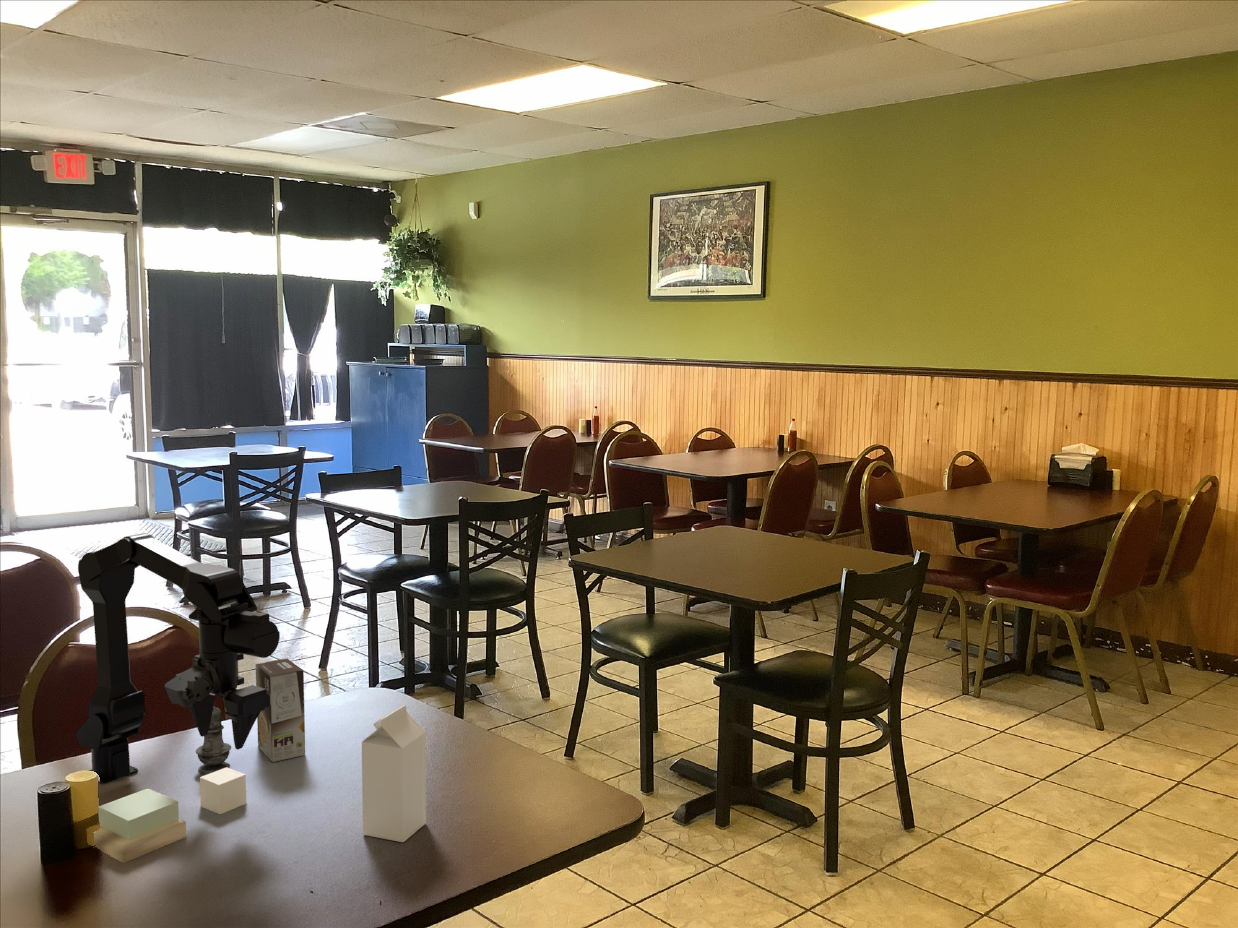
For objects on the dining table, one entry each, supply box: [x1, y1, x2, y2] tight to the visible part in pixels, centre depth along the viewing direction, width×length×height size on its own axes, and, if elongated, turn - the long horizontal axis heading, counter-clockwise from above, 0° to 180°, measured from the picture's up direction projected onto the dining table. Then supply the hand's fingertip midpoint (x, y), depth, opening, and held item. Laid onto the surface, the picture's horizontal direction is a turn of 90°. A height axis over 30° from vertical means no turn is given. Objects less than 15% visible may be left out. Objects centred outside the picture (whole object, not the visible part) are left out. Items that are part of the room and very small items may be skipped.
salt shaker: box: [195, 706, 232, 775], centre depth 184 cm, size 6×6×12 cm
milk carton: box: [361, 704, 427, 843], centre depth 161 cm, size 7×7×19 cm
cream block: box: [199, 767, 247, 815], centre depth 170 cm, size 5×5×5 cm
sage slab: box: [97, 788, 180, 840], centre depth 158 cm, size 8×8×3 cm
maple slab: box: [93, 818, 187, 864], centre depth 158 cm, size 10×10×3 cm
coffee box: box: [254, 658, 306, 763], centre depth 192 cm, size 9×6×16 cm
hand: (221, 741), depth 169 cm, fingers open, 9 cm apart
